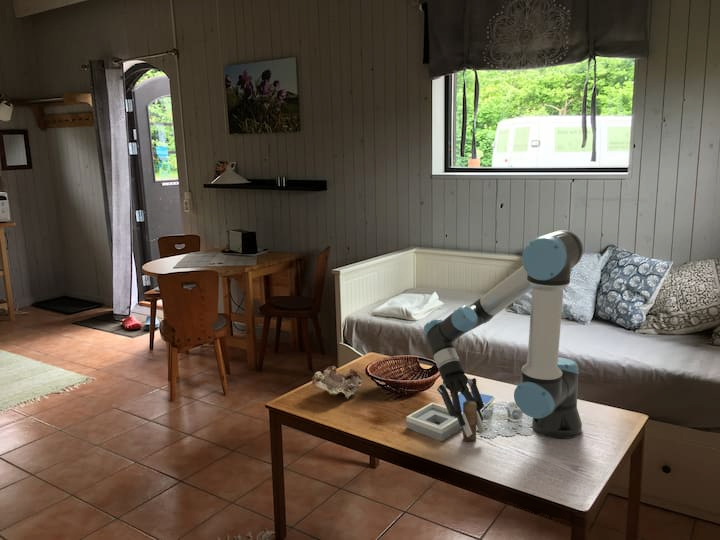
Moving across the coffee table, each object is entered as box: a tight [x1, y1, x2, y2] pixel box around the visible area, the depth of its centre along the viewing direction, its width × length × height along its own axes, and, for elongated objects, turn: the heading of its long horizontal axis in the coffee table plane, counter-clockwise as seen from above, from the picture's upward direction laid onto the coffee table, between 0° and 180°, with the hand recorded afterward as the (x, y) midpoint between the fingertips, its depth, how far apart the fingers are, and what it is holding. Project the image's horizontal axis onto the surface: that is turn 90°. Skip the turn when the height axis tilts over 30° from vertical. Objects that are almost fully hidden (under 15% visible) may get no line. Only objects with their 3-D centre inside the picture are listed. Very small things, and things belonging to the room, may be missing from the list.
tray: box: [405, 402, 463, 442], centre depth 198 cm, size 14×14×4 cm
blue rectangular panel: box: [451, 391, 495, 412], centre depth 214 cm, size 19×13×1 cm, turn 149°
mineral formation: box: [311, 365, 363, 400], centre depth 227 cm, size 23×16×10 cm
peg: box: [462, 401, 477, 444], centre depth 188 cm, size 4×4×12 cm
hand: (476, 433), depth 185 cm, fingers closed on peg, 4 cm apart
